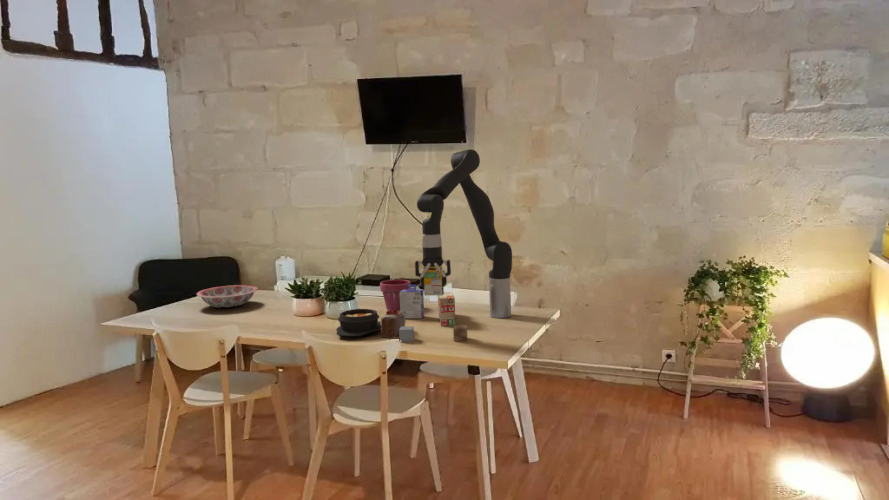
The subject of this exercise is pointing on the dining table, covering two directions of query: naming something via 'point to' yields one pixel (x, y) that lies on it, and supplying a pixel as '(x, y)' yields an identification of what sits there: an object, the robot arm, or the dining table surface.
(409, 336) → the slate-grey block
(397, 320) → the food item
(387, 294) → the plant pot
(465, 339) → the walnut block
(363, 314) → the casserole
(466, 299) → the dining table surface
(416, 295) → the ink cartridge box
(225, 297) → the ceramic bowl
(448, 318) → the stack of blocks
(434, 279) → the crayon box
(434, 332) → the dining table surface
